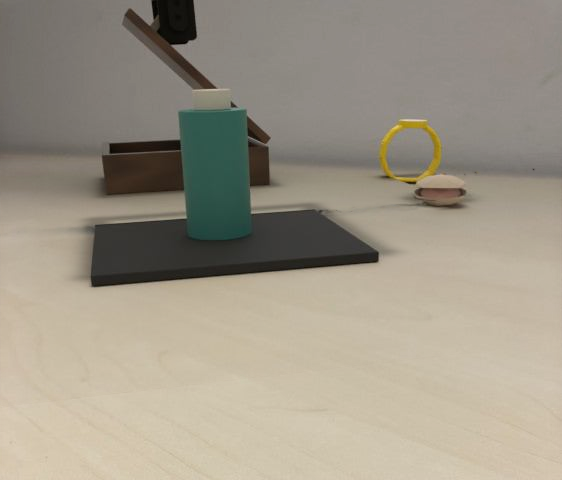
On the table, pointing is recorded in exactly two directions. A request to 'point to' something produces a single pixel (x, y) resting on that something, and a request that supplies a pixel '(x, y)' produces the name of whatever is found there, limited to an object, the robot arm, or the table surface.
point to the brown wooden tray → (163, 166)
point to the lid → (178, 62)
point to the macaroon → (440, 189)
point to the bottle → (215, 167)
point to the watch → (402, 124)
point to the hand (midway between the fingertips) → (175, 41)
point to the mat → (221, 248)
